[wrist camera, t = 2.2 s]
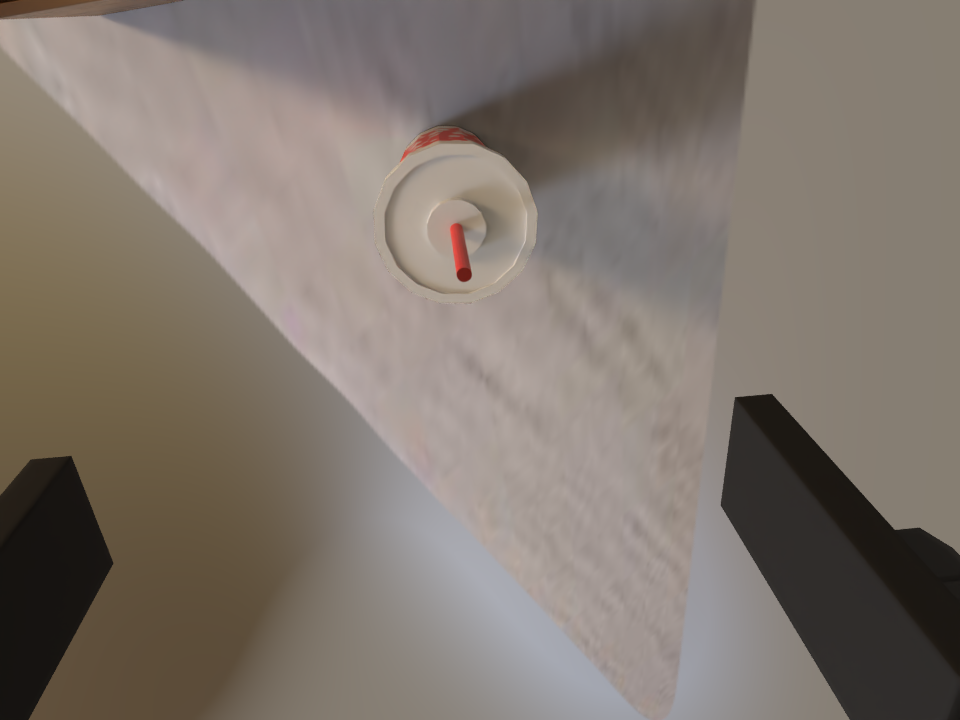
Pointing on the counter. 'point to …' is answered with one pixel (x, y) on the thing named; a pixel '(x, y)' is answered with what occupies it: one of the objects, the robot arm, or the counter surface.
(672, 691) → the counter surface
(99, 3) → the brown open-topped box
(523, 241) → the beverage cup
